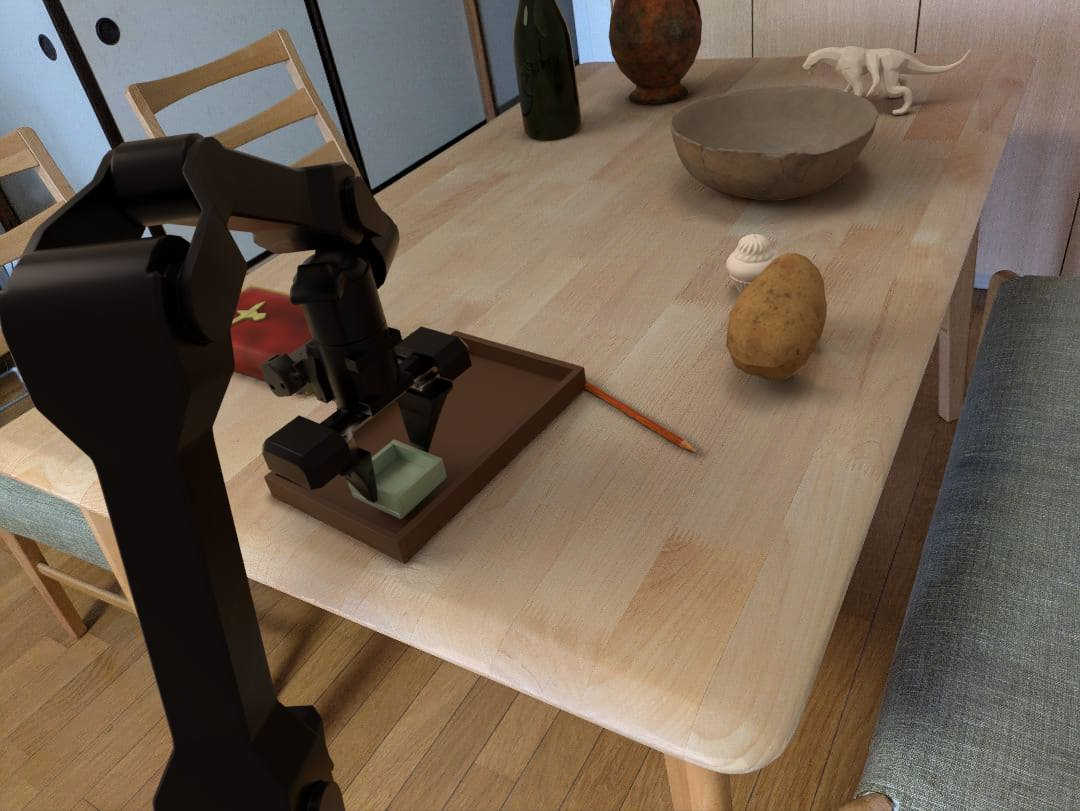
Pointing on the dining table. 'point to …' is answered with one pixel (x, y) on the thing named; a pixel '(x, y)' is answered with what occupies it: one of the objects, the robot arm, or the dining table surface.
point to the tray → (449, 444)
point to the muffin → (750, 260)
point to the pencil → (638, 417)
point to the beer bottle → (545, 71)
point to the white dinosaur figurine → (876, 69)
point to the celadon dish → (403, 478)
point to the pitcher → (655, 46)
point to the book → (265, 329)
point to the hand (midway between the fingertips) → (397, 478)
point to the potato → (778, 318)
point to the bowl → (773, 139)
